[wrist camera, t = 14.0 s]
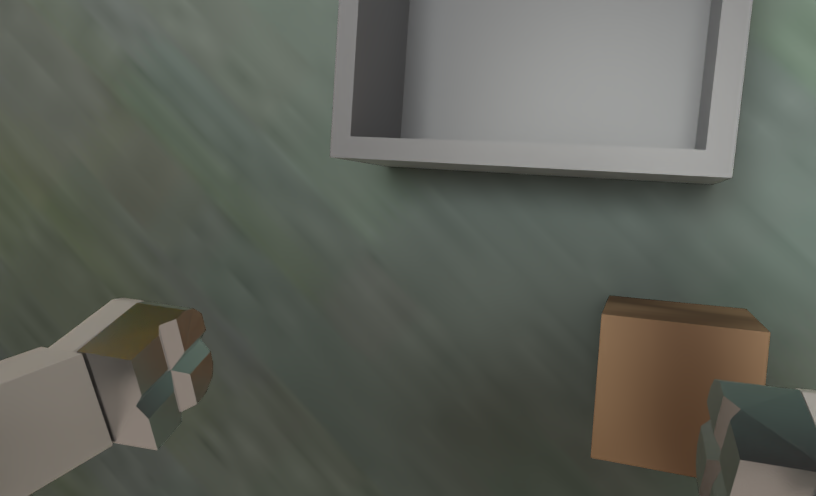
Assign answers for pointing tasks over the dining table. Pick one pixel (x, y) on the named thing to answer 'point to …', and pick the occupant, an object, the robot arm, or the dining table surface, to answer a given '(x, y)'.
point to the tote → (542, 86)
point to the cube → (667, 377)
